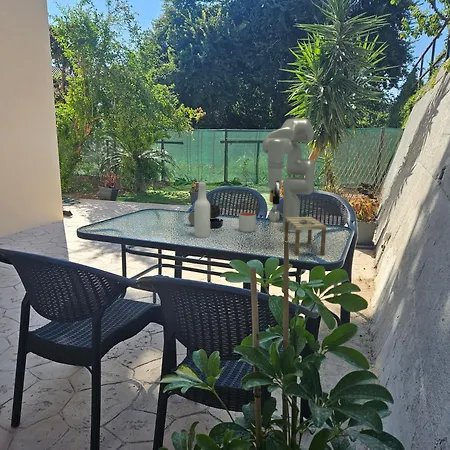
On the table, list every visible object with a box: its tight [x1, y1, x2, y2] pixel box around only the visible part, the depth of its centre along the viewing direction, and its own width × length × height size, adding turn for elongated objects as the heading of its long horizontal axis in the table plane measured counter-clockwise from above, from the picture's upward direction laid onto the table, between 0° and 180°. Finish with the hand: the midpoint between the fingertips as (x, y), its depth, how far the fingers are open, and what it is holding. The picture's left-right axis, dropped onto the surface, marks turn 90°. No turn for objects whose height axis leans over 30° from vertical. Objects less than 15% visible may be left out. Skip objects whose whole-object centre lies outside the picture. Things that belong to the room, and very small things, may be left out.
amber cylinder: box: [268, 193, 281, 224], centre depth 195 cm, size 5×5×14 cm
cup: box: [238, 212, 257, 233], centre depth 235 cm, size 10×10×10 cm
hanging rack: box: [283, 216, 327, 257], centre depth 197 cm, size 22×14×14 cm, turn 5°
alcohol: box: [193, 181, 211, 239], centre depth 220 cm, size 9×9×30 cm
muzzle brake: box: [187, 204, 222, 226], centre depth 256 cm, size 10×28×10 cm, turn 154°
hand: (274, 202), depth 195 cm, fingers closed on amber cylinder, 5 cm apart
